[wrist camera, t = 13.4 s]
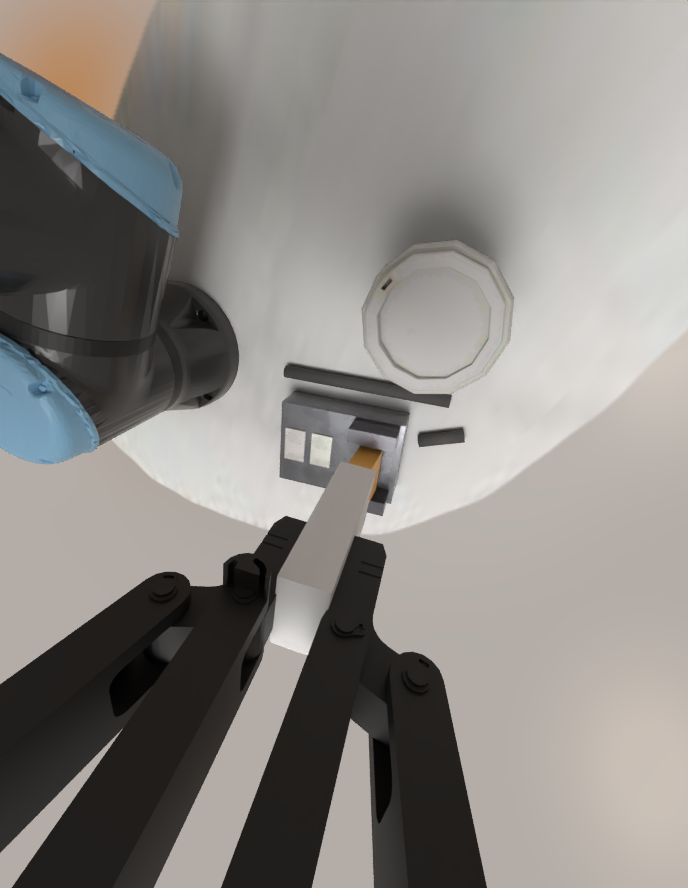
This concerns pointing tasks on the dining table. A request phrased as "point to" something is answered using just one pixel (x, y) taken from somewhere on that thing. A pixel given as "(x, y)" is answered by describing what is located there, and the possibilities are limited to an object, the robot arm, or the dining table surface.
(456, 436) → the dark grey peg
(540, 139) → the dining table surface
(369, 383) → the dark grey rod
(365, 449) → the lever
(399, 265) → the disposable coffee cup
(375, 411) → the labelled grey housing
